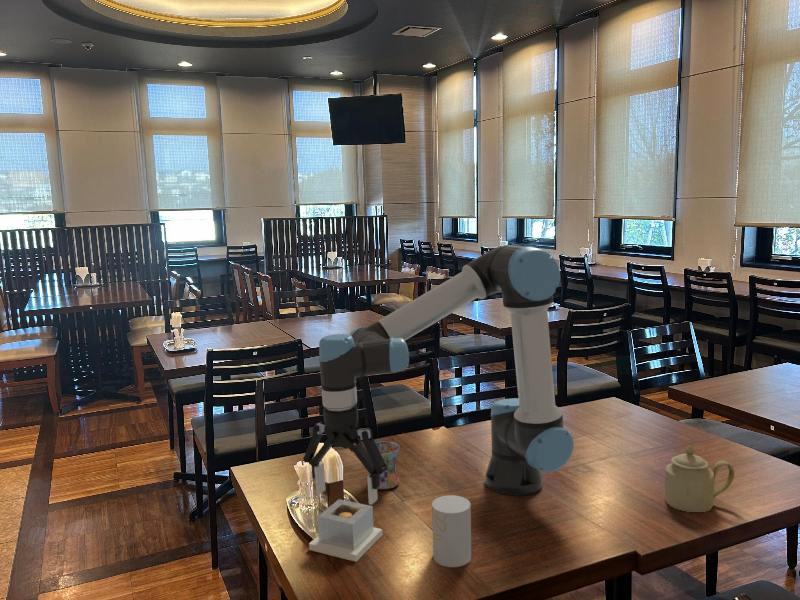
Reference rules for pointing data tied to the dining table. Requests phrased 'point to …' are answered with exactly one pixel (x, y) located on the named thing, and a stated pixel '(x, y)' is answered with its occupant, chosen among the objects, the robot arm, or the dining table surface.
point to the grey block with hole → (345, 524)
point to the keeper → (343, 552)
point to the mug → (388, 464)
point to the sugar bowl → (693, 482)
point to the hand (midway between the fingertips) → (346, 496)
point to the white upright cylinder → (451, 530)
